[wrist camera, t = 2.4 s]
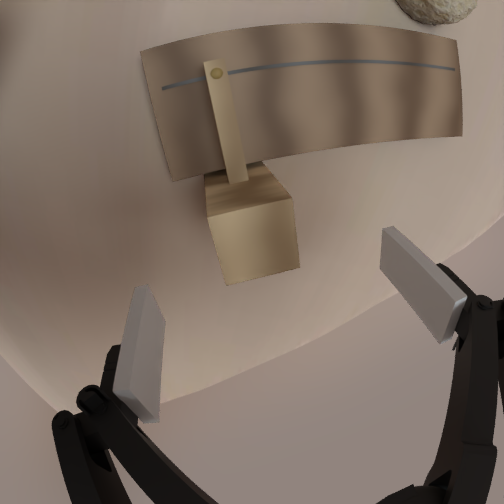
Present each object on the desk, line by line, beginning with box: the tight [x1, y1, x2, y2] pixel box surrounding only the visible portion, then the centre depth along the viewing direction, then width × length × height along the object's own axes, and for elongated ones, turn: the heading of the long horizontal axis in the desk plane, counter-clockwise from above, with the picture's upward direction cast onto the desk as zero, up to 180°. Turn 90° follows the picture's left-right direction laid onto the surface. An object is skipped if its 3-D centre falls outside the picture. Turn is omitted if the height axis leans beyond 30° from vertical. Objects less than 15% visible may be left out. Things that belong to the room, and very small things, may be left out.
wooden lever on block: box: [203, 58, 300, 286], centre depth 20 cm, size 5×14×10 cm, turn 10°
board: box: [140, 23, 463, 182], centre depth 21 cm, size 30×11×3 cm, turn 100°
